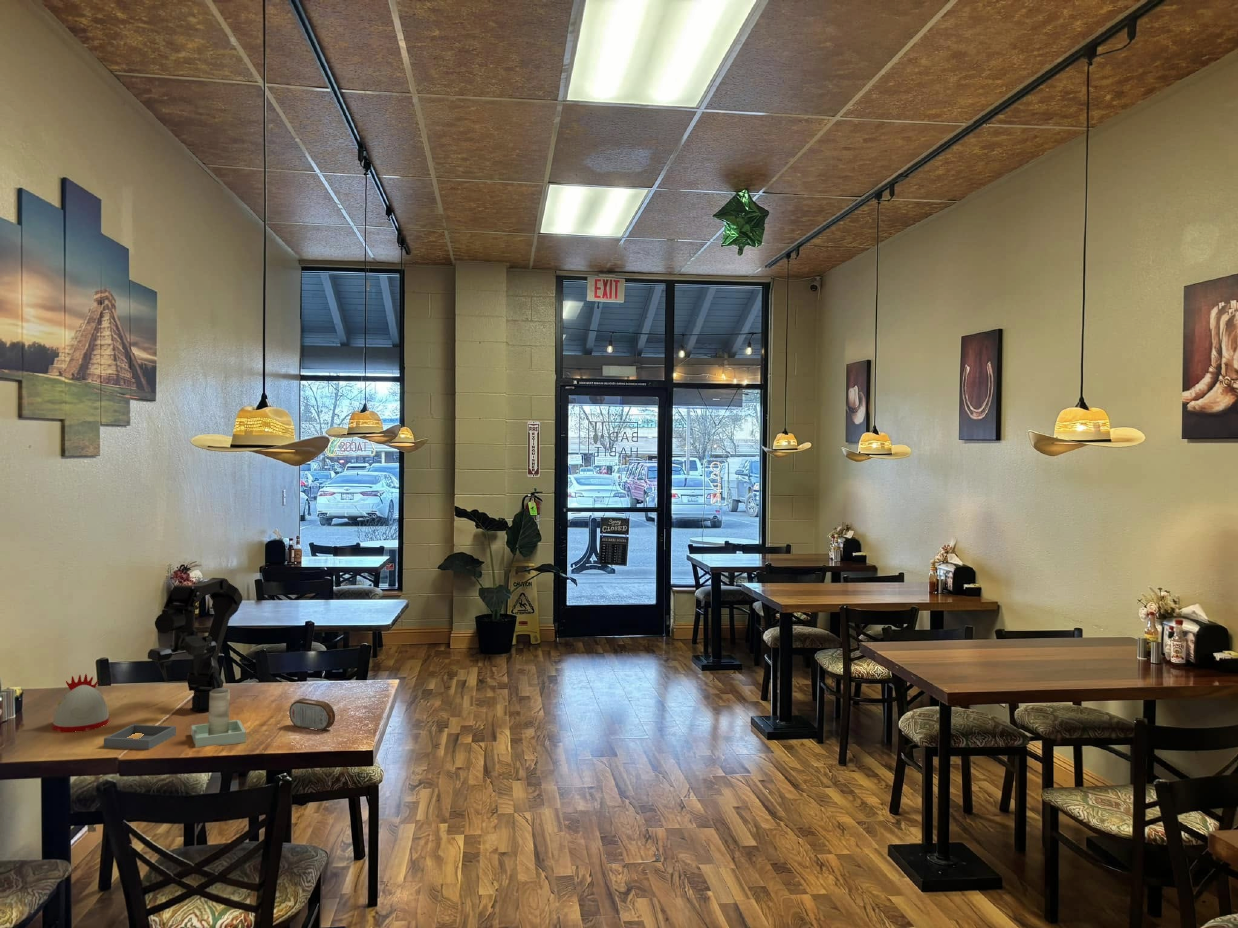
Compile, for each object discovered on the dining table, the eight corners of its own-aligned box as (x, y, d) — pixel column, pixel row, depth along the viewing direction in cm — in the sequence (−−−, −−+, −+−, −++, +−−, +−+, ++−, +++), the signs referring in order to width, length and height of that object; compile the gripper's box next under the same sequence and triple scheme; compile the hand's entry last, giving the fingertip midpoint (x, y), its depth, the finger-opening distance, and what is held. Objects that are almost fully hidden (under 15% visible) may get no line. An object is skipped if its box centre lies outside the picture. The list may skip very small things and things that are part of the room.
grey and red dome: (51, 722, 246) (53, 672, 247) (105, 715, 255) (107, 666, 255) (54, 735, 235) (56, 682, 236) (111, 727, 244) (113, 676, 244)
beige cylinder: (212, 734, 239) (213, 687, 239) (231, 734, 239) (232, 687, 239) (204, 740, 234) (206, 692, 234) (224, 740, 234) (225, 692, 234)
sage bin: (191, 735, 238) (191, 725, 238) (239, 729, 245) (239, 719, 245) (195, 748, 228) (196, 737, 228) (245, 742, 234) (246, 731, 234)
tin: (335, 730, 248) (336, 701, 248) (328, 733, 245) (329, 704, 245) (294, 723, 253) (295, 696, 253) (286, 726, 250) (287, 698, 250)
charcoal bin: (132, 734, 238) (133, 724, 238) (175, 736, 237) (176, 726, 237) (103, 749, 225) (103, 737, 225) (148, 751, 225) (149, 740, 225)
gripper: (170, 634, 239) (168, 689, 239) (228, 625, 255) (227, 676, 255) (147, 630, 245) (145, 683, 244) (206, 621, 261) (204, 671, 261)
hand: (182, 678), depth 251 cm, fingers open, 9 cm apart
